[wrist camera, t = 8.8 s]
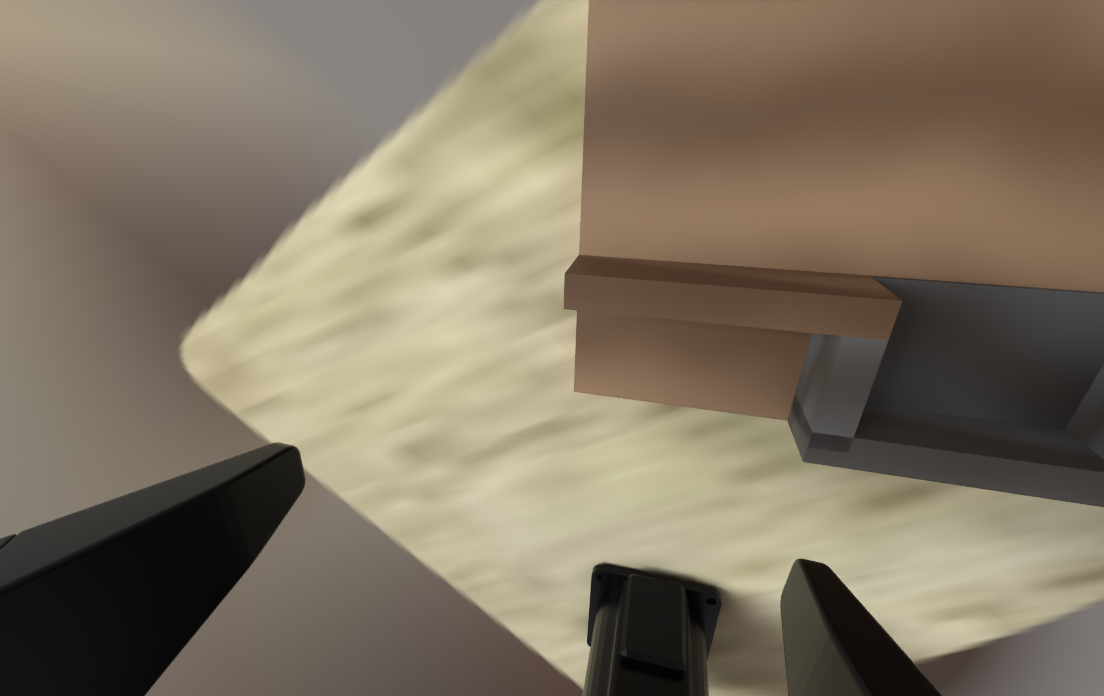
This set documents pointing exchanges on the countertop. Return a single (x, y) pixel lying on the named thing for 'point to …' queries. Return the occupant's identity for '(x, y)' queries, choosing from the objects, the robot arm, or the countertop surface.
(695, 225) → the trap lane
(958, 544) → the countertop surface
